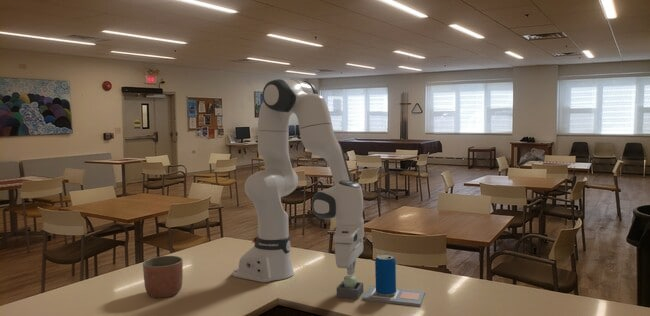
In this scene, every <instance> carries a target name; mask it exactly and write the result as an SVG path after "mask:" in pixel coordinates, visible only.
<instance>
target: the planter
mask: <svg viewBox="0 0 650 316" xmlns="http://www.w3.org/2000/svg"><path fill="white" fill-rule="evenodd" d="M183 264H184V263H183V258H182V257H181V256H177V255H161V256H160V255H159V256H155V257H151V258H148V259H146V260H145V261H143V262H142V270H143V282H144V288H145V292H146V293H147V295H148V296H150V297H153V298H157V299H159V298H162V297H163V298H168V297H172V296H175V295H177V294H178V293H179V292H180V291H181V289H182V286H183V277H184V275H183V272H184V271H183V270H184V269H183V267H184V266H183Z"/></svg>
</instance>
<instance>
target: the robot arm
mask: <svg viewBox="0 0 650 316" xmlns="http://www.w3.org/2000/svg"><path fill="white" fill-rule="evenodd" d="M262 101H263V102H262V103H261V105H260V109H259V112H258V118H257V152H258V155H259V156H260V157H261V158H262V160H263V163H264V169H263V170H258V171H256V172H254V173H253V174H251V175H249V176H248V177H247V178H246V180H245V182H244V193H245V194H246V196H247V197H248V199H249V200H250V201H251V202H252V203H253V206H254V207H255V212H256V216H257V236H256V237H254V239H251V241H252V242H251V243H252V244H253V243H254V245H253V246H252V247H251V248H250V249H249V250H248V251H246V252H245V253H244V254H243V255H242V256H241V257H240V259H239V262H238V267H236V268H235V269H234V270H233V271H232V277H235V278H240V279H244V280H250V281H254V282H259V283H269V282H272V281H279V280H280V281H281V280H285V279H288V278H290V277H293V275H294V274H295V271H294V269H293V264H292V258H291V253H290V251H291V235H290V234H289V233H290V231H289V230H290V228H289V214H288V212H287V211H285V210H284V207H283V204H282V198H283V197H286V196H288V195H290V194H291V193H293V192H294V191H295V190H296V189H297V187H298V184H299V177H298V174H297V173H296V172H295V170H294V169H293V166H292V163H291V158H290V151H289V150H290V149H289V148H290V146H289V145H290V144H289V140H290V138H289V137H290V136H289V135H290V133H289V132H290V131H289V130H290V129H289V128H290V127H289V126H290V125H289V123H290V117H291V116H292V114H295V116H296V118H297V121H298V122H297V123H298V130H299V136H300V140H301V143H302V145H303V147H304V148H305V149H306V150H307V151H308V152H310V153H311V154H313V155H316V156H319V157H320V158H322V159H324V160H325V162H327V164H328V165H329V166H328V167H329V170H330V173H331V176H332V180H333V182H334V183H333V184H334V185H333V186H331V187H328V188H326V189H323V190H320V191H317V192H315V193H314V194H313V196H312V198H311V203H310V204H311V209H312V212H313V214H314V215H315V216H316V217H317V218H318V219H321V220H330V219H335V223H336V224H335V226H336V227H335V232H334V234H333V236H332V241H333V243H335V244H334V255H335V264H336V267H337V268H338V269H346V273H347V276H353V274H355V272H356V264H357V259H358V258H359V256H361V254H362V253H363V251H364V237H365V220H364V217H363V213H364V205H365V204H364V193H363V189H362V186H361V185H360V183H359V182H357V181H354V180H352V177H351V174H350V170H349V167H348V166H349V165H348V164H347V160H346V156H345V153H344V150H343V148H342V146H341V144H340V142H339V141H338V139H337V137H336V135H335V132H334V129H333V122H332V118H331V114H330V110H329V107H328V104H327V102H326V99H325V97H323V95H320V94H319V91H318V89H317V87H316V86H315V85H314V84H313V83H311V82H309V81H306V80H298V79H279V78H278V79H273V80H269V81H268V82H267V83H266V84H265V86H264V87H263V90H262Z"/></svg>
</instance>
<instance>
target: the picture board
mask: <svg viewBox="0 0 650 316" xmlns="http://www.w3.org/2000/svg"><path fill="white" fill-rule="evenodd" d="M425 295H426V291H424V290H417V289H407V288H397V287H396V292H395V293H394V294H393V295H391V296H382V295H379V294H378V293H377V292H376V285H370V286H369V287H368V289H367V290H366V292H365V293H364V295H363V296H362V301H368V302H369V301H370V302H379V303H387V304H394V305H395V304H396V305H405V306H411V307H412V306H413V307H421V306H422V304H423V300H424V297H425Z"/></svg>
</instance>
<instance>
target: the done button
mask: <svg viewBox="0 0 650 316" xmlns="http://www.w3.org/2000/svg"><path fill="white" fill-rule="evenodd" d="M343 281H344V288H351V289H356V282H357V277H356V276H355V275H346V276H344V277H343Z"/></svg>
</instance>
